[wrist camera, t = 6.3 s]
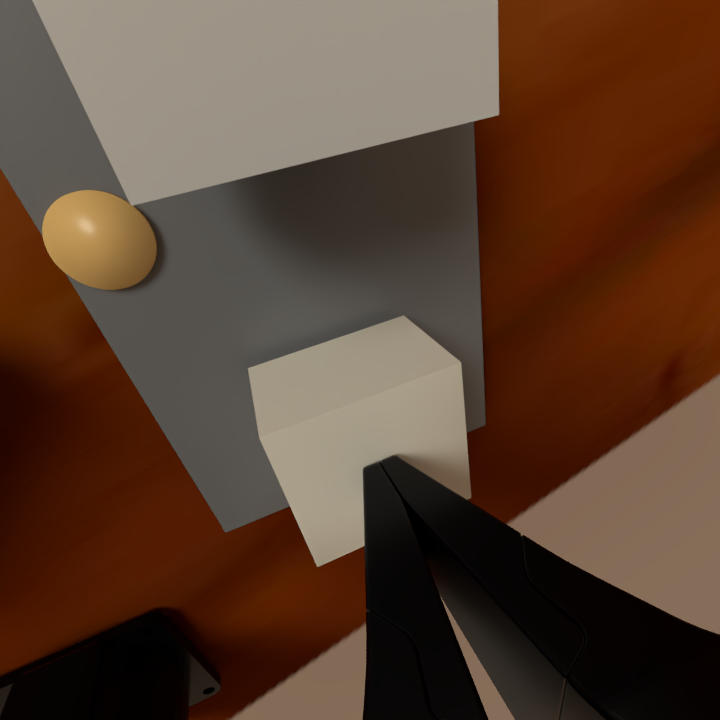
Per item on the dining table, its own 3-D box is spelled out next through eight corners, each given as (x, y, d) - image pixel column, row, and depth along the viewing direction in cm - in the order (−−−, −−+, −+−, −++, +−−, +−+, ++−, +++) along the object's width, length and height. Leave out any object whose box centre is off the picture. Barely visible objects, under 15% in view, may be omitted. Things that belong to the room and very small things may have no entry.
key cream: (421, 432, 13) (471, 497, 11) (296, 484, 12) (317, 567, 10) (403, 315, 11) (461, 361, 8) (247, 368, 10) (259, 438, 8)
